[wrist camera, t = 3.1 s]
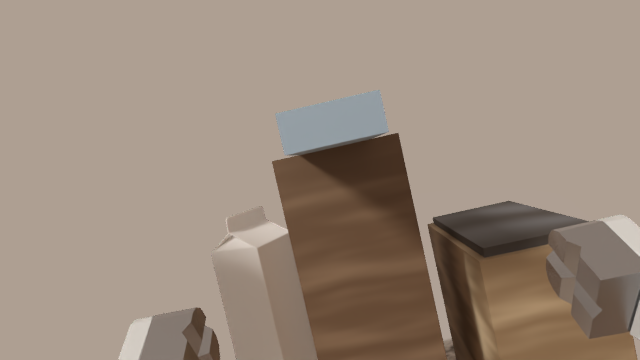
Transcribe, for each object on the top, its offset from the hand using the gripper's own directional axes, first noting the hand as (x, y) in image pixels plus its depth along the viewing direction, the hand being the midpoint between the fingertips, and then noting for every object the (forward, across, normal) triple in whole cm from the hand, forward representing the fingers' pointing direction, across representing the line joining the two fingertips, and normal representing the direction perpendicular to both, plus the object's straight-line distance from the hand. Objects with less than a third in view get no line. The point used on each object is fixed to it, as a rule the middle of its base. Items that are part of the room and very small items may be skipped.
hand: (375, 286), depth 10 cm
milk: (+17, -10, -36) cm, 41 cm away
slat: (+19, 0, -7) cm, 20 cm away
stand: (+10, 0, -31) cm, 33 cm away
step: (+9, +11, -31) cm, 34 cm away
